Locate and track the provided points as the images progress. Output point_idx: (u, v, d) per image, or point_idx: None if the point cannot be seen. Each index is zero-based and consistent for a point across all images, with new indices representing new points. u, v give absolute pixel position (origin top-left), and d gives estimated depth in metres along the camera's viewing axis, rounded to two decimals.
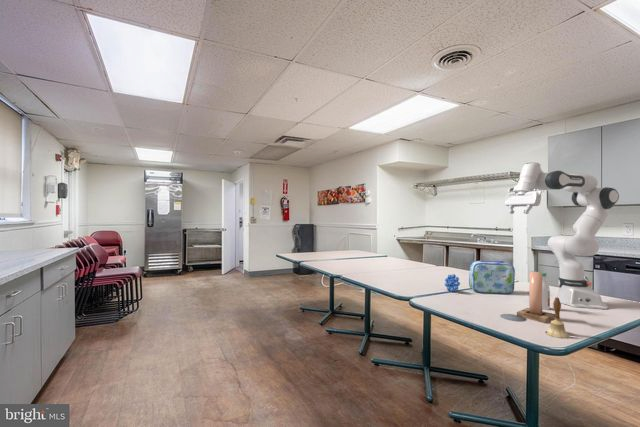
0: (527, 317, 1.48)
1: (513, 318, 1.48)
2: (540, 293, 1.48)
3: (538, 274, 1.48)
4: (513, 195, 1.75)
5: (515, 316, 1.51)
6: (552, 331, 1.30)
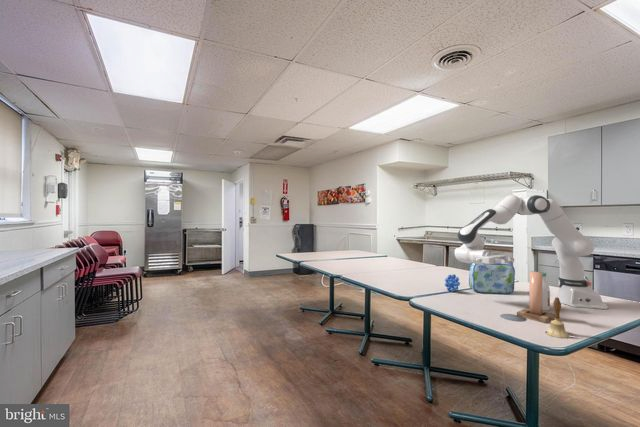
0: (527, 317, 1.48)
1: (513, 318, 1.48)
2: (540, 293, 1.48)
3: (538, 274, 1.48)
4: None
5: (515, 316, 1.51)
6: (552, 331, 1.30)
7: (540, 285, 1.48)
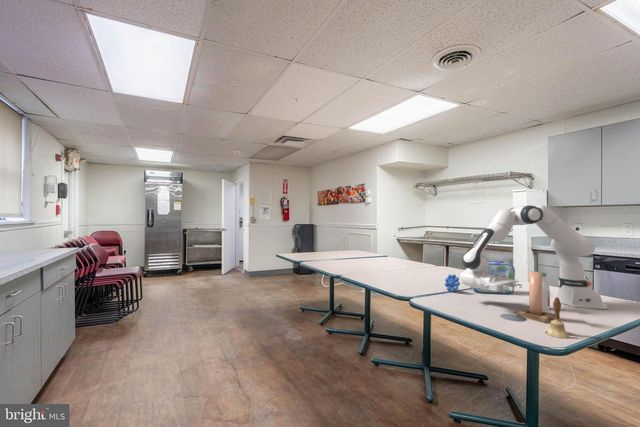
0: (527, 317, 1.48)
1: (513, 318, 1.48)
2: (540, 293, 1.48)
3: (538, 274, 1.48)
4: None
5: (515, 316, 1.51)
6: (552, 331, 1.30)
7: (540, 285, 1.48)
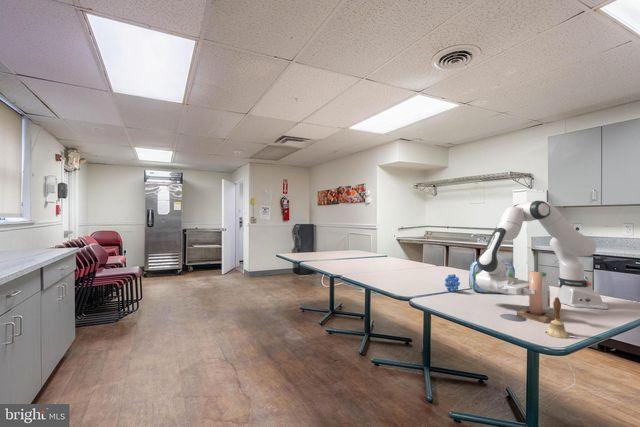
0: (527, 317, 1.48)
1: (513, 318, 1.48)
2: (540, 293, 1.48)
3: (538, 274, 1.48)
4: None
5: (515, 316, 1.51)
6: (552, 331, 1.30)
7: (540, 285, 1.48)
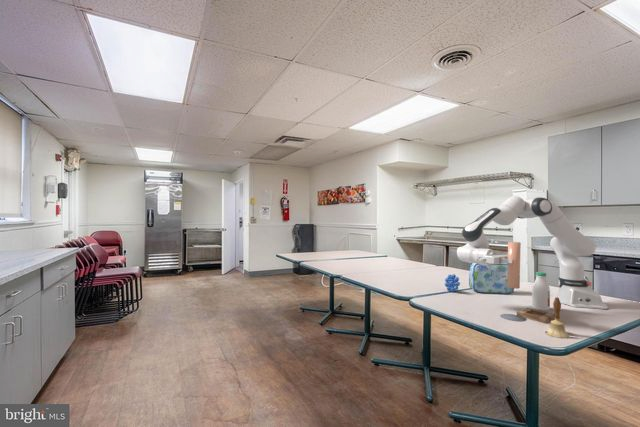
0: (527, 317, 1.48)
1: (513, 318, 1.48)
2: (518, 263, 1.47)
3: (516, 243, 1.47)
4: None
5: (515, 316, 1.51)
6: (552, 331, 1.30)
7: (518, 254, 1.47)
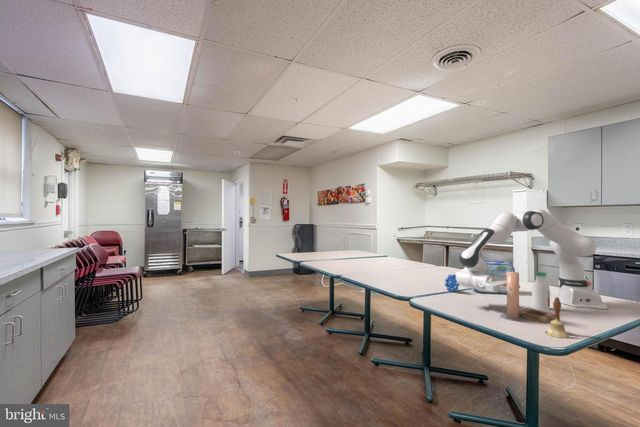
0: (527, 317, 1.48)
1: None
2: (517, 293, 1.47)
3: (514, 274, 1.48)
4: None
5: None
6: (552, 331, 1.30)
7: (516, 285, 1.47)
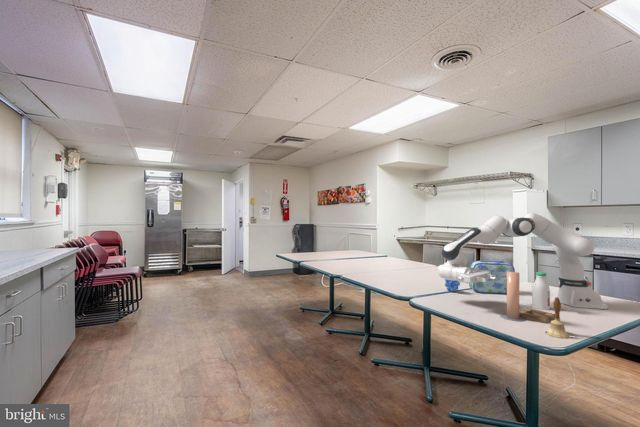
0: (527, 317, 1.48)
1: None
2: (517, 293, 1.47)
3: (515, 274, 1.47)
4: None
5: None
6: (552, 331, 1.30)
7: (517, 285, 1.47)
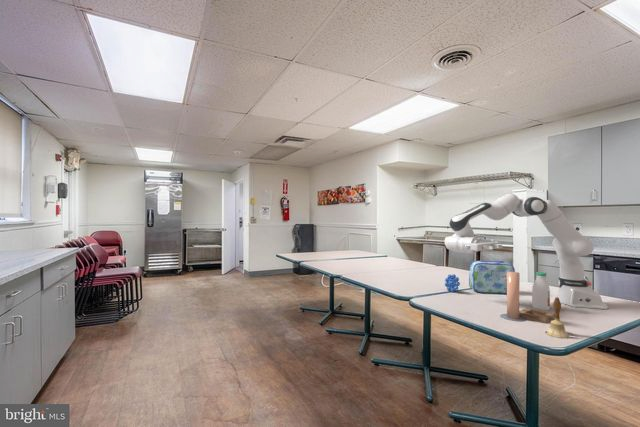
0: (527, 317, 1.48)
1: None
2: (517, 293, 1.47)
3: (515, 274, 1.47)
4: None
5: None
6: (552, 331, 1.30)
7: (517, 285, 1.47)
